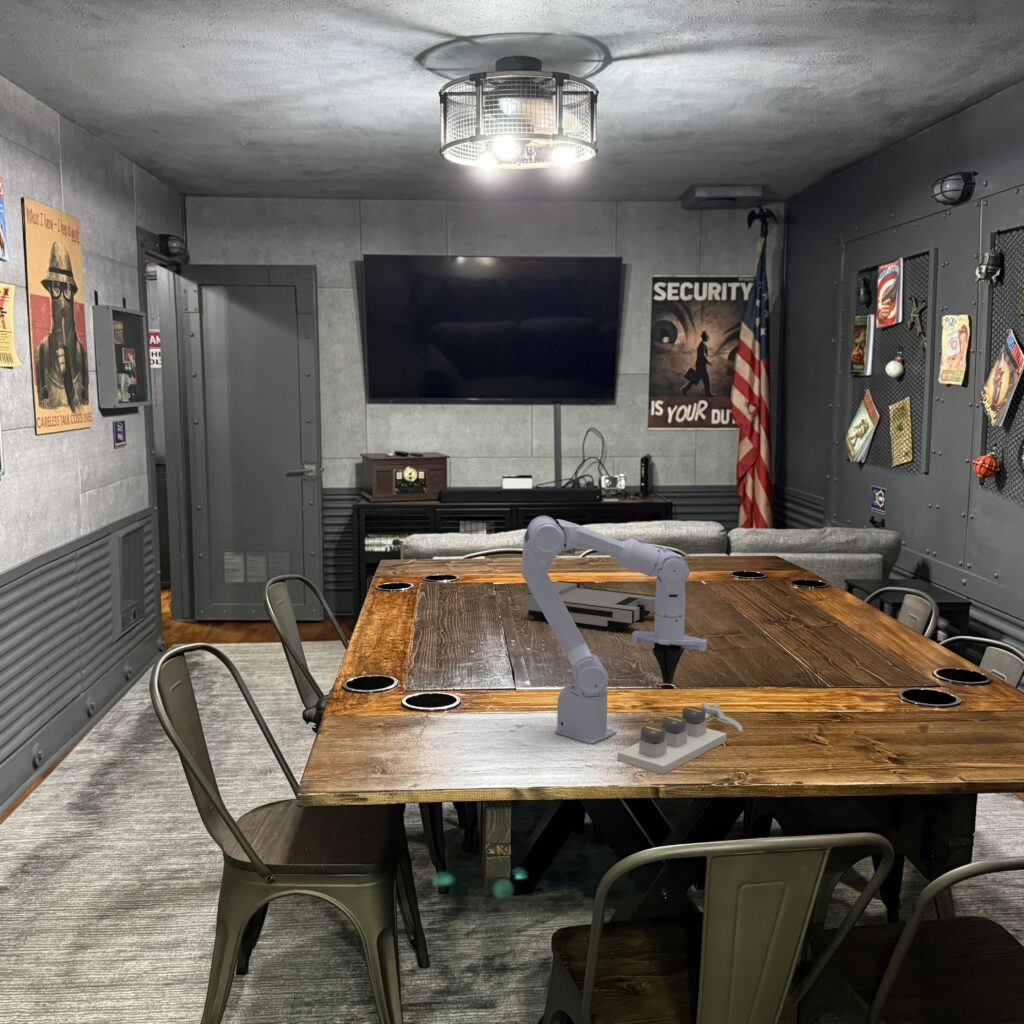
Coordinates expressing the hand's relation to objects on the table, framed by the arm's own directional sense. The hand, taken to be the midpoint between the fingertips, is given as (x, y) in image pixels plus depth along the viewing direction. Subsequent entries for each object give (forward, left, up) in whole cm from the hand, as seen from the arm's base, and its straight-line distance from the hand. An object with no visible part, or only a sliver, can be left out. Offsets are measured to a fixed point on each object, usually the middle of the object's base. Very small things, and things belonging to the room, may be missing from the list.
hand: (668, 682), depth 203 cm
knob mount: (+6, -7, -10) cm, 14 cm away
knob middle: (+6, -7, -9) cm, 13 cm away
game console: (-65, +63, -11) cm, 92 cm away
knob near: (+6, -14, -9) cm, 18 cm away
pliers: (+3, +13, -11) cm, 17 cm away
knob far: (+6, 0, -9) cm, 10 cm away
